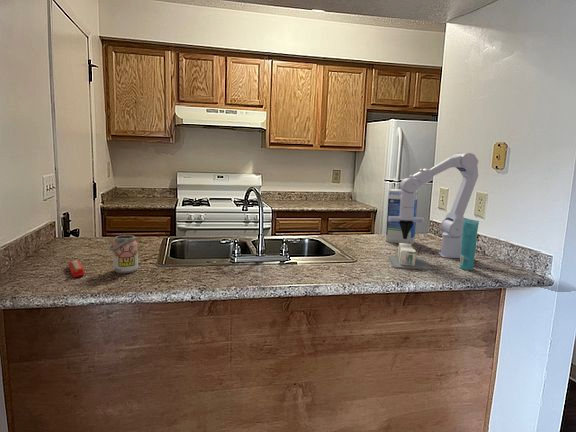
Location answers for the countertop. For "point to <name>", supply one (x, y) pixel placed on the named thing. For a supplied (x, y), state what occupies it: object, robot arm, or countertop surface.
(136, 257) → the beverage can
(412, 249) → the syrup box
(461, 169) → the robot arm
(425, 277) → the countertop surface
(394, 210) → the string lights box
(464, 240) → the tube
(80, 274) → the candy bar
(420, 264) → the mat
